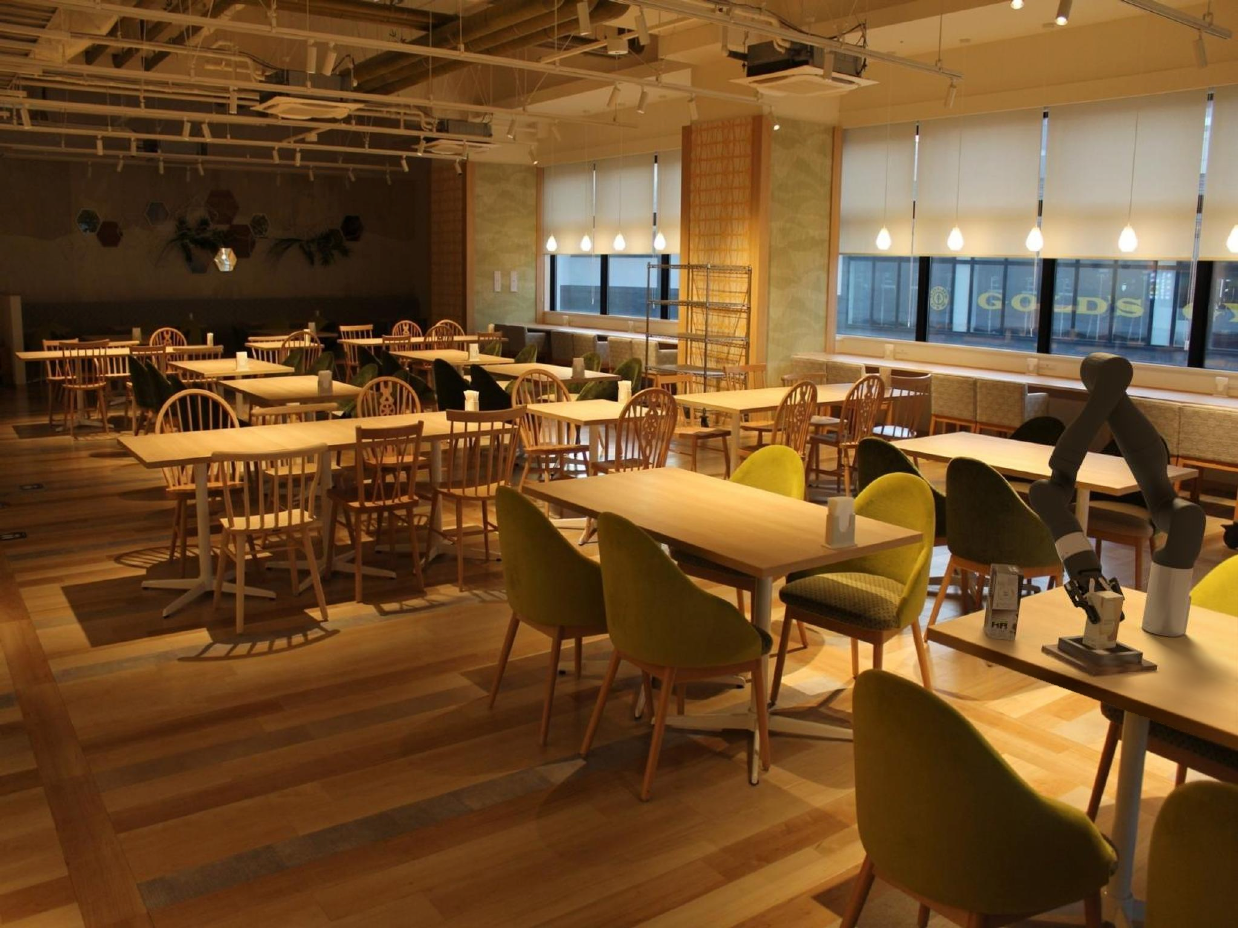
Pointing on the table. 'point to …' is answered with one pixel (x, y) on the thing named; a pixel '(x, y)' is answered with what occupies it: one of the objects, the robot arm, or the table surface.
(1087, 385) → the robot arm
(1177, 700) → the table surface
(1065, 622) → the table surface
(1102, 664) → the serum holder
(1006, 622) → the coffee box
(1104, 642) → the skincare box
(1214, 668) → the table surface
